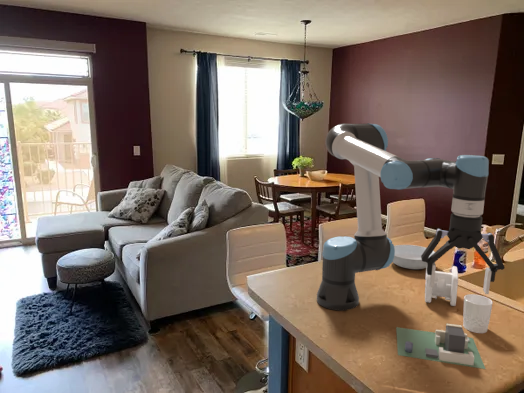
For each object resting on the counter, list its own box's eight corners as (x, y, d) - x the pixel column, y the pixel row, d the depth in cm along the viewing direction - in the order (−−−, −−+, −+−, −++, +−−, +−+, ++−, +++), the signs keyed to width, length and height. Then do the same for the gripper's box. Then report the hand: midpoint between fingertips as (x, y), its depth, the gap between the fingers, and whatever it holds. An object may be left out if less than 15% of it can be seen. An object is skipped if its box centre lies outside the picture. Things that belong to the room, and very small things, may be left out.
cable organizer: (455, 310, 138) (458, 279, 136) (423, 305, 142) (425, 274, 140) (454, 293, 151) (457, 265, 149) (424, 289, 155) (427, 261, 153)
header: (439, 360, 108) (440, 348, 108) (434, 340, 118) (435, 329, 118) (473, 365, 106) (474, 353, 105) (465, 344, 116) (466, 333, 115)
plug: (447, 357, 109) (449, 333, 108) (444, 346, 115) (446, 323, 114) (463, 360, 108) (465, 335, 107) (459, 348, 114) (461, 325, 112)
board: (397, 356, 111) (398, 347, 110) (396, 328, 126) (396, 320, 125) (485, 370, 104) (486, 360, 104) (472, 339, 119) (473, 330, 119)
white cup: (464, 320, 131) (467, 291, 129) (491, 327, 126) (494, 298, 124) (458, 329, 125) (461, 300, 123) (486, 338, 120) (489, 307, 118)
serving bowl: (387, 256, 194) (387, 242, 192) (433, 260, 187) (434, 246, 186) (386, 271, 174) (387, 256, 173) (437, 276, 168) (439, 261, 167)
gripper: (417, 213, 105) (410, 288, 109) (525, 221, 97) (513, 301, 102) (415, 207, 112) (409, 278, 116) (515, 214, 105) (505, 289, 109)
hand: (458, 289), depth 109 cm, fingers open, 13 cm apart
